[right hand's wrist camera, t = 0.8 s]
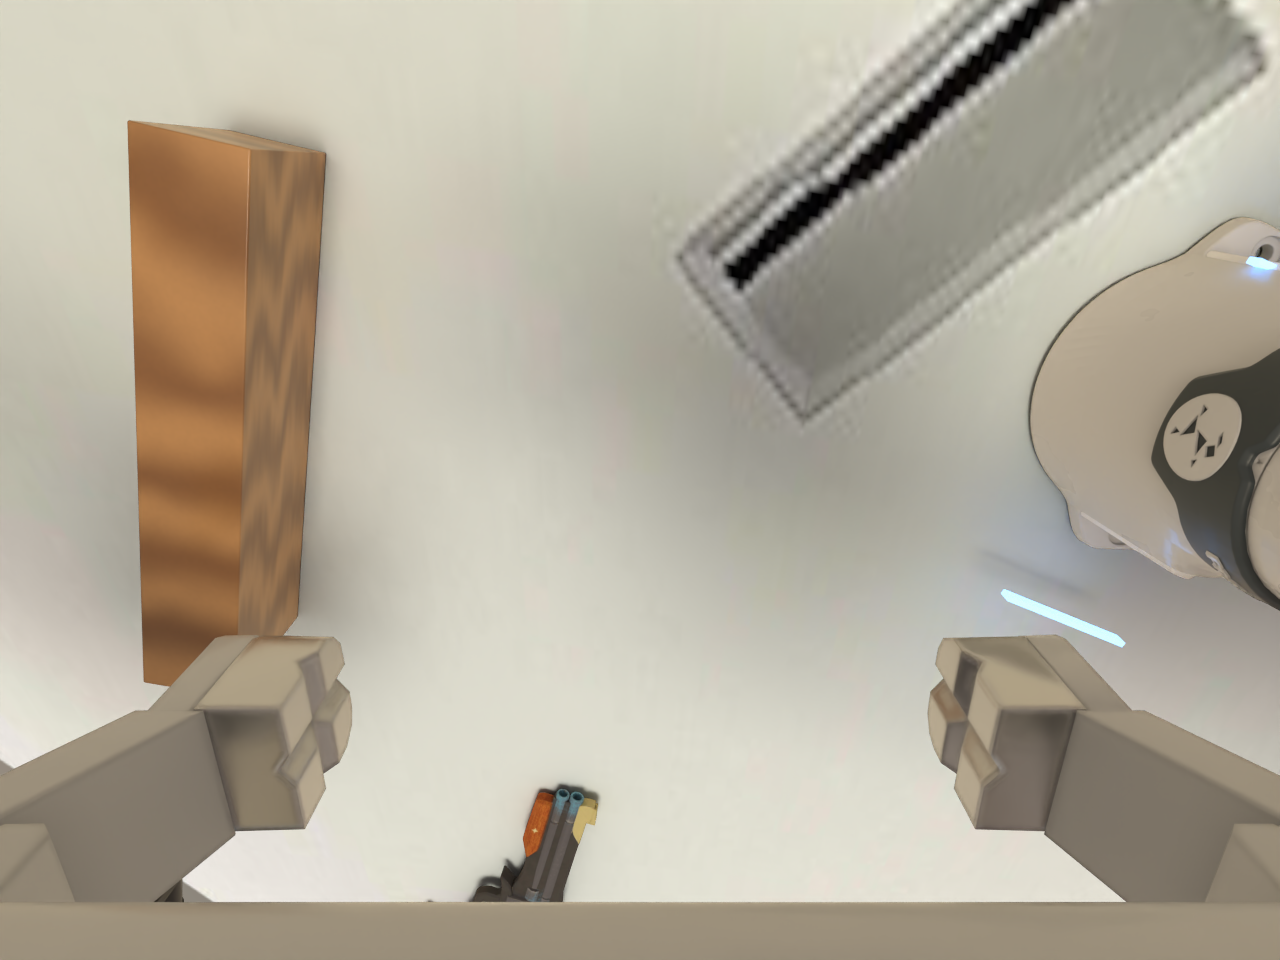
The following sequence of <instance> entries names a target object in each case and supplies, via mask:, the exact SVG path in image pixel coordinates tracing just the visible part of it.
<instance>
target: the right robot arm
mask: <svg viewBox="0 0 1280 960" xmlns="http://www.w3.org/2000/svg"><path fill="white" fill-rule="evenodd" d="M1261 246H1262V249H1263V250H1262V254H1261V255H1260V257H1259V258H1257V257H1256V252H1257V250H1258V249H1259V248H1260V247H1261ZM1030 425H1031V435H1032V441H1033V445H1034V449H1035V451H1036V454H1037V457H1038V459H1039V461H1040V464H1041V465H1042V467H1043V469H1044V471H1045V472H1046V473H1047V475H1048V476H1049V478H1050V479H1051V480H1052V481H1053V482H1054V484H1055V485H1056V486H1057V487H1058V489H1059V490H1060V491H1061V492H1062V494H1063V495H1064V497H1065V499H1066V501H1067V505H1068V512H1069V517H1070V522H1071V526H1072V529H1073V532H1074V534H1075V536H1076V537H1077V538H1078V539H1079V540H1080V541H1082V542H1083V543H1085V544H1087V545H1088V546H1090V547H1092V548H1097V549H1131V550H1136V551H1138V552H1139V553H1141V554H1142V555H1144V556H1145V557H1147V558H1149V559H1150V560H1152V561H1153V562H1155V563H1156V564H1158V565H1160V566H1161V567H1163V568H1164V569H1166V570H1168V571H1169V572H1171V573H1173V574H1174V575H1177V576H1179V577H1182V578H1185V579H1191V578H1193V577H1195V576H1200V577H1211V578H1215V577H1224V578H1225V579H1227V580H1228V581H1229V582H1230V583H1231V584H1233V585H1234V586H1236V587H1237V588H1239V589H1240V590H1242V591H1243V592H1245V593H1246V594H1248V595H1250V596H1251V597H1253V598H1255V599H1257V600H1259V601H1262V602H1264V603H1266V604H1269V605H1270V606H1272V607H1274V608H1276V609H1278V610H1280V230H1278V229H1276V228H1275V227H1273V226H1271V225H1269V224H1267V223H1265V222H1262V221H1259V220H1255V219H1251V218H1246V217H1239V218H1235V219H1232V220H1230V221H1228V222H1226V223H1224V224H1223V225H1221V226H1220V227H1218V228H1217V229H1215V230H1214V231H1213V232H1211V233H1210V234H1209V235H1207V236H1206V237H1205V238H1203V239H1202V240H1201V241H1200V242H1198V243H1197V244H1196V245H1195V246H1194V247H1192V248H1191V249H1190V250H1189V251H1188V252H1186V253H1185V254H1183V255H1181V256H1179V257H1177V258H1175V259H1172V260H1170V261H1168V262H1165V263H1162V264H1159V265H1156V266H1154V267H1151V268H1148V269H1145V270H1143V271H1140V272H1138V273H1136V274H1134V275H1132V276H1130V277H1128V278H1126V279H1124V280H1122V281H1120V282H1118V283H1117V284H1115V285H1113V286H1112V287H1110V288H1109V289H1107V290H1106V291H1104V292H1103V293H1101V294H1100V295H1099V296H1098V297H1096V298H1095V299H1094V300H1092V301H1091V302H1090V303H1089V304H1088V305H1087V306H1086V307H1084V308H1083V309H1082V310H1081V311H1080V312H1079V313H1078V314H1077V315H1076V316H1075V317H1074V319H1073V320H1072V321H1071V322H1070V323H1069V324H1068V325H1067V327H1066V328H1065V329H1064V330H1063V332H1062V333H1061V334H1060V336H1059V337H1058V339H1057V340H1056V342H1055V343H1054V345H1053V346H1052V348H1051V350H1050V351H1049V353H1048V355H1047V357H1046V359H1045V361H1044V363H1043V365H1042V367H1041V370H1040V372H1039V375H1038V378H1037V381H1036V384H1035V388H1034V392H1033V397H1032V403H1031V412H1030ZM1001 594H1002V595H1003V596H1004V597H1005V599H1006V600H1007V601H1009V602H1011V603H1014V604H1016V605H1019V606H1021V607H1024V608H1026V609H1029V610H1031V611H1034V612H1036V613H1039V614H1041V615H1044V616H1046V617H1048V618H1051V619H1053V620H1056V621H1058V622H1061V623H1063V624H1066V625H1068V626H1071V627H1073V628H1076V629H1078V630H1081V631H1083V632H1086V633H1088V634H1091V635H1093V636H1096V637H1098V638H1101V639H1103V640H1105V641H1108V642H1110V643H1113V644H1115V645H1118V646H1120V647H1123V645H1124V644H1125V642H1124V641H1123V640H1122V639H1121V638H1120V637H1119V636H1117V635H1116V634H1113V633H1111V632H1108V631H1106V630H1103V629H1101V628H1098V627H1096V626H1094V625H1091V624H1089V623H1086V622H1084V621H1081V620H1079V619H1076V618H1074V617H1071V616H1069V615H1066V614H1064V613H1062V612H1059V611H1057V610H1054V609H1052V608H1049V607H1047V606H1044V605H1042V604H1039V603H1037V602H1034V601H1032V600H1030V599H1027V598H1025V597H1022V596H1020V595H1017V594H1015V593H1012V592H1010V591H1007V590H1005V589H1004V590H1003V591H1002V593H1001ZM344 665H345V663H344V658H343V653H342V649H341V644H340V642H338V641H337V640H336V639H335V638H334V637H316V636H267V635H262V636H258V635H225V636H221V637H217V638H215V639H214V640H213V641H212V642H211V643H210V644H209V645H208V646H207V647H206V649H205V650H204V651H203V652H202V653H201V654H200V655H199V656H198V657H197V658H196V659H195V660H194V661H193V663H192V664H191V665H190V666H189V667H188V668H187V669H186V670H185V671H184V672H183V673H182V674H181V675H180V676H179V678H178V679H177V680H176V681H175V682H174V683H173V684H172V685H171V686H170V687H169V688H168V689H167V690H166V692H165V693H164V694H163V695H162V696H161V697H160V698H159V699H158V700H157V701H156V702H155V703H154V704H153V706H152V707H151V708H150V709H149V710H148V711H134V712H131V713H129V714H127V715H125V716H123V717H121V718H119V719H117V720H115V721H113V722H111V723H109V724H106V725H104V726H102V727H100V728H98V729H96V730H94V731H92V732H90V733H88V734H86V735H84V736H82V737H79V738H77V739H75V740H73V741H71V742H69V743H67V744H65V745H63V746H61V747H59V748H57V749H54V750H52V751H50V752H48V753H46V754H44V755H42V756H40V757H38V758H36V759H34V760H32V761H29V762H27V763H25V764H23V765H21V766H19V767H17V768H15V769H13V770H11V771H9V772H7V773H4V774H2V775H0V960H1280V776H1279V775H1277V774H1275V773H1273V772H1271V771H1269V770H1267V769H1265V768H1263V767H1261V766H1259V765H1257V764H1254V763H1252V762H1250V761H1248V760H1246V759H1244V758H1242V757H1240V756H1238V755H1236V754H1234V753H1232V752H1230V751H1227V750H1225V749H1223V748H1221V747H1219V746H1217V745H1215V744H1213V743H1211V742H1209V741H1207V740H1205V739H1203V738H1200V737H1198V736H1196V735H1194V734H1192V733H1190V732H1188V731H1186V730H1184V729H1182V728H1180V727H1178V726H1176V725H1173V724H1171V723H1169V722H1167V721H1165V720H1163V719H1161V718H1159V717H1157V716H1155V715H1153V714H1151V713H1149V712H1146V711H1132V710H1131V709H1130V708H1129V707H1128V705H1127V704H1126V703H1125V702H1124V701H1123V700H1122V699H1121V698H1120V697H1119V696H1118V695H1117V694H1116V693H1115V691H1114V690H1113V689H1112V688H1111V687H1110V686H1109V685H1108V684H1107V683H1106V682H1105V681H1104V680H1103V679H1102V677H1101V676H1100V675H1099V674H1098V673H1097V672H1096V671H1095V670H1094V669H1093V668H1092V667H1091V666H1090V665H1089V664H1088V662H1087V661H1086V660H1085V659H1084V658H1083V657H1082V656H1081V655H1080V654H1079V653H1078V652H1077V651H1076V650H1075V648H1074V647H1073V646H1072V645H1071V644H1070V643H1069V642H1068V641H1067V640H1066V639H1065V638H1062V637H1060V636H1058V635H1032V636H1018V637H968V638H943V640H942V642H941V644H940V646H939V648H938V652H937V657H936V663H935V665H936V666H937V668H938V670H939V671H940V673H941V675H942V676H943V678H944V679H943V680H942V681H941V682H940V683H939V684H938V685H937V686H936V687H935V688H934V689H933V690H932V691H931V692H930V698H929V706H928V723H929V734H930V737H931V740H932V744H933V747H934V750H935V752H936V754H937V756H938V758H939V760H940V762H941V763H942V764H943V765H945V766H946V767H948V768H949V769H951V770H952V771H954V772H955V773H956V774H957V775H956V780H955V786H954V789H955V791H956V793H957V795H958V797H959V799H960V801H961V803H962V805H963V807H964V809H965V810H966V812H967V814H968V816H969V818H970V820H971V822H972V824H973V826H974V828H975V829H987V830H1023V831H1045V833H1044V834H1045V835H1046V836H1047V837H1048V838H1049V839H1051V840H1052V841H1053V842H1054V843H1055V844H1057V845H1058V846H1059V847H1060V848H1062V849H1063V850H1064V851H1065V852H1066V853H1068V854H1069V855H1070V856H1071V857H1073V858H1074V859H1075V860H1076V861H1077V862H1079V863H1080V864H1081V865H1082V866H1083V867H1085V868H1086V869H1087V870H1088V871H1090V872H1091V873H1092V874H1093V875H1094V876H1096V877H1097V878H1098V879H1099V880H1101V881H1102V882H1103V883H1104V884H1105V885H1107V886H1108V887H1109V888H1110V889H1111V890H1113V891H1114V892H1115V893H1116V894H1118V895H1119V896H1120V897H1121V898H1122V899H1124V900H1125V901H1126V902H154V901H155V900H157V899H158V898H159V897H160V896H161V895H163V894H164V893H165V892H166V891H168V890H169V889H170V888H171V887H172V886H174V885H175V884H176V883H177V882H179V881H180V880H181V879H182V878H183V877H185V876H186V875H187V874H188V873H189V872H191V871H192V870H193V869H194V868H196V867H197V866H198V865H199V864H200V863H202V862H203V861H204V860H205V859H207V858H208V857H209V856H210V855H211V854H213V853H214V852H215V851H216V850H218V849H219V848H220V847H221V846H222V845H224V844H225V843H226V842H227V841H229V840H230V839H231V838H232V837H233V836H235V834H236V833H235V831H256V830H291V829H305V828H306V826H307V824H308V822H309V820H310V818H311V816H312V814H313V812H314V811H315V809H316V807H317V805H318V803H319V801H320V799H321V797H322V795H323V793H324V791H325V789H326V786H325V780H324V775H323V774H324V773H325V772H326V771H328V770H329V769H331V768H332V767H334V766H335V765H337V764H338V763H339V762H340V760H341V758H342V756H343V754H344V752H345V750H346V748H347V745H348V740H349V736H350V731H351V726H352V704H351V697H350V692H349V691H348V690H347V689H346V688H345V687H344V686H343V685H342V684H341V683H340V682H339V681H338V680H337V679H336V678H337V676H338V675H339V673H340V671H341V670H342V668H343V666H344Z"/></svg>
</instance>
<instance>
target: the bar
mask: <svg viewBox="0 0 1280 960" xmlns="http://www.w3.org/2000/svg"><path fill="white" fill-rule="evenodd" d="M128 154H129V188H130V223H131V257H132V292H133V326H134V361H135V395H136V430H137V464H138V499H139V533H140V568H141V602H142V637H143V671H144V682H146V683H152V684H158V685H163V686H169V687H170V686H171V685H172V684H173V683H174V682H175V681H176V680H177V679H178V678H179V676H180V675H181V674H182V673H183V672H184V671H185V670H186V669H187V668H188V667H189V666H190V665H191V664H192V663H193V661H194V660H195V659H196V658H197V657H198V656H199V655H200V654H201V653H202V652H203V651H204V650H205V649H206V647H207V646H208V645H209V644H210V643H211V642H212V641H213V640H214V639H215V638H217V637H221V636H225V635H258V636H262V635H267V636H283V635H284V634H285V632H286V631H287V630H288V628H289V627H290V626H291V625H292V623H293V622H294V621H295V619H296V618H297V613H298V597H299V581H300V564H301V548H302V532H303V516H304V499H305V483H306V467H307V451H308V434H309V418H310V402H311V386H312V369H313V353H314V337H315V320H316V304H317V288H318V272H319V255H320V239H321V223H322V207H323V190H324V174H325V158H326V154H325V153H323V152H319V151H315V150H311V149H306V148H302V147H298V146H294V145H289V144H285V143H281V142H277V141H272V140H268V139H264V138H260V137H255V136H251V135H247V134H243V133H238V132H234V131H230V130H222V129H212V128H202V127H192V126H181V125H171V124H161V123H151V122H141V121H131V120H129V121H128Z"/></svg>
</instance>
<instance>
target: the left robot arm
mask: <svg viewBox="0 0 1280 960" xmlns="http://www.w3.org/2000/svg"><path fill="white" fill-rule="evenodd" d="M154 902H184V899H183V897H182V879H181V880H180V881H179V882H177V883H176V884H175V885H174V886H172V887H171V888H170V889H169V890H168V891H166V892H165V893H164V894H163V895H161V896H160V897H159V898H158V899H157V900H155V901H154Z"/></svg>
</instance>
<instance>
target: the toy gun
mask: <svg viewBox="0 0 1280 960" xmlns="http://www.w3.org/2000/svg"><path fill="white" fill-rule="evenodd" d="M597 808H598V803H596V800H592V799H589V798H584V796H583V794H582V793H580V792H573V793H571V796H570V793H569V792H568V791H567V790H566V789H559V790H558V791H557V792H555V795H552V794H548V793H545V792H542V793H539V794H538V796H537V798H536V801H535V804H534V806H533V809H532V812H531V815H530V818H529V821H528V824H527V827H526V830H525V833H524V836H523V842H524V848H525V853H526V860H525V863H524V866H523V869H522V871H521V873H520V874H519V876H518V877H517V878H515V876H514V875H513V874H512V872H511V871H510V870H509V869H508V868H507V866H504V868H503V871H502V874H501V885H502V888H496V887H493V886H481V887H479V888H478V889H477V891H476V894H475V897H474V900H473V902H482V901H486V902H563V890H564V887H565V884H566V881H567V878H568V875H569V872H570V869H571V866H572V863H573V859H574V856H575V853H576V850H577V847H578V844H579V843H580V840H581V837H582V834H583V831H584V828H585V825H586V823H588V824H591V825H595V821H596V816H597Z"/></svg>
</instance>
